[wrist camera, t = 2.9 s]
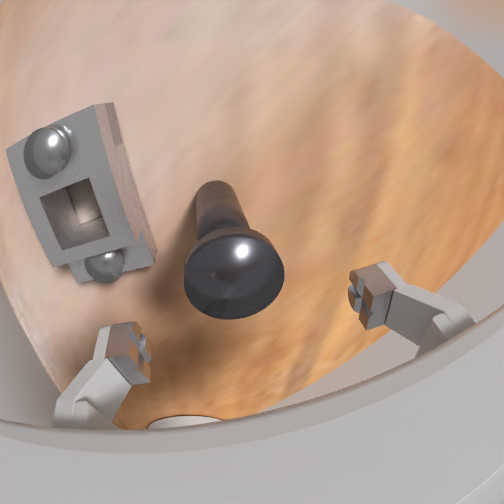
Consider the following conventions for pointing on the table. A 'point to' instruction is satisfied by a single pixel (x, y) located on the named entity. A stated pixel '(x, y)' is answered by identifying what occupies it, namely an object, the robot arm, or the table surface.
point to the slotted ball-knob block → (105, 189)
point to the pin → (229, 259)
